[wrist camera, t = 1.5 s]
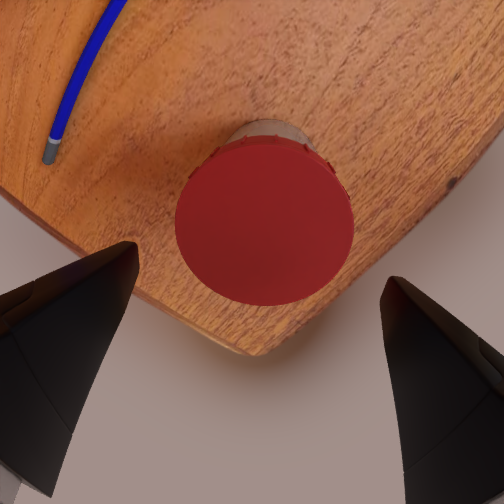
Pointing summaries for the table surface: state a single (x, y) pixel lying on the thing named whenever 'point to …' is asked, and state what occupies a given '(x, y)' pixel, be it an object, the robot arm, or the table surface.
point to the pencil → (80, 78)
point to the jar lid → (264, 221)
